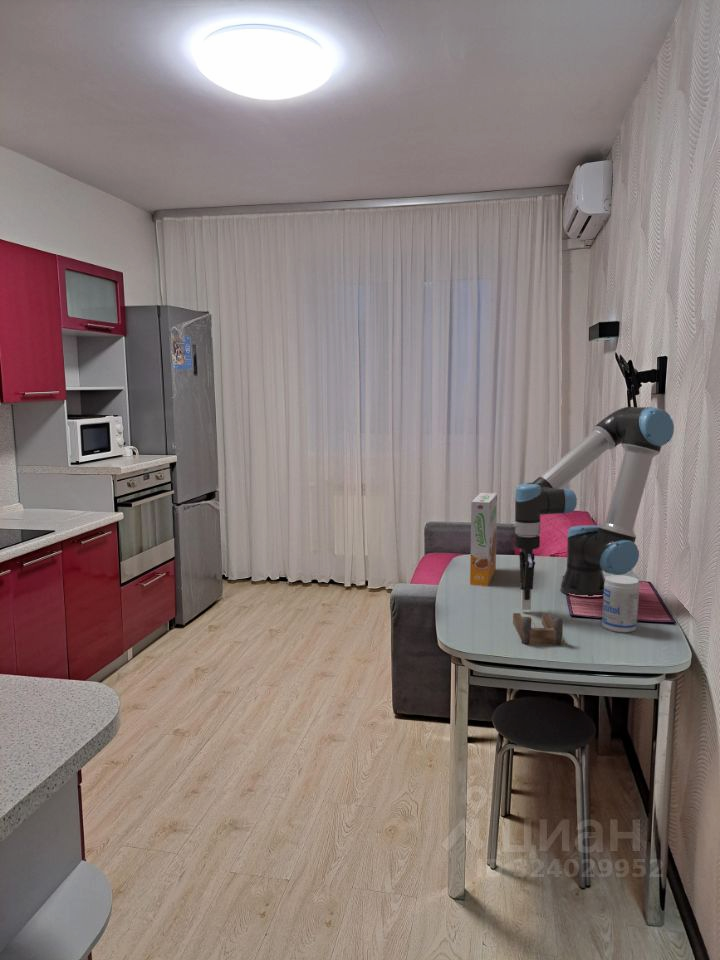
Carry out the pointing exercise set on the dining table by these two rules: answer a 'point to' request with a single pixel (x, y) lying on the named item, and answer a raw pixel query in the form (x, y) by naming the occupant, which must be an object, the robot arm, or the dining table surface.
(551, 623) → the guide channel
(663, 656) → the dining table surface
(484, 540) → the cereal box
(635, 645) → the dining table surface
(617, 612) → the supplement tub
